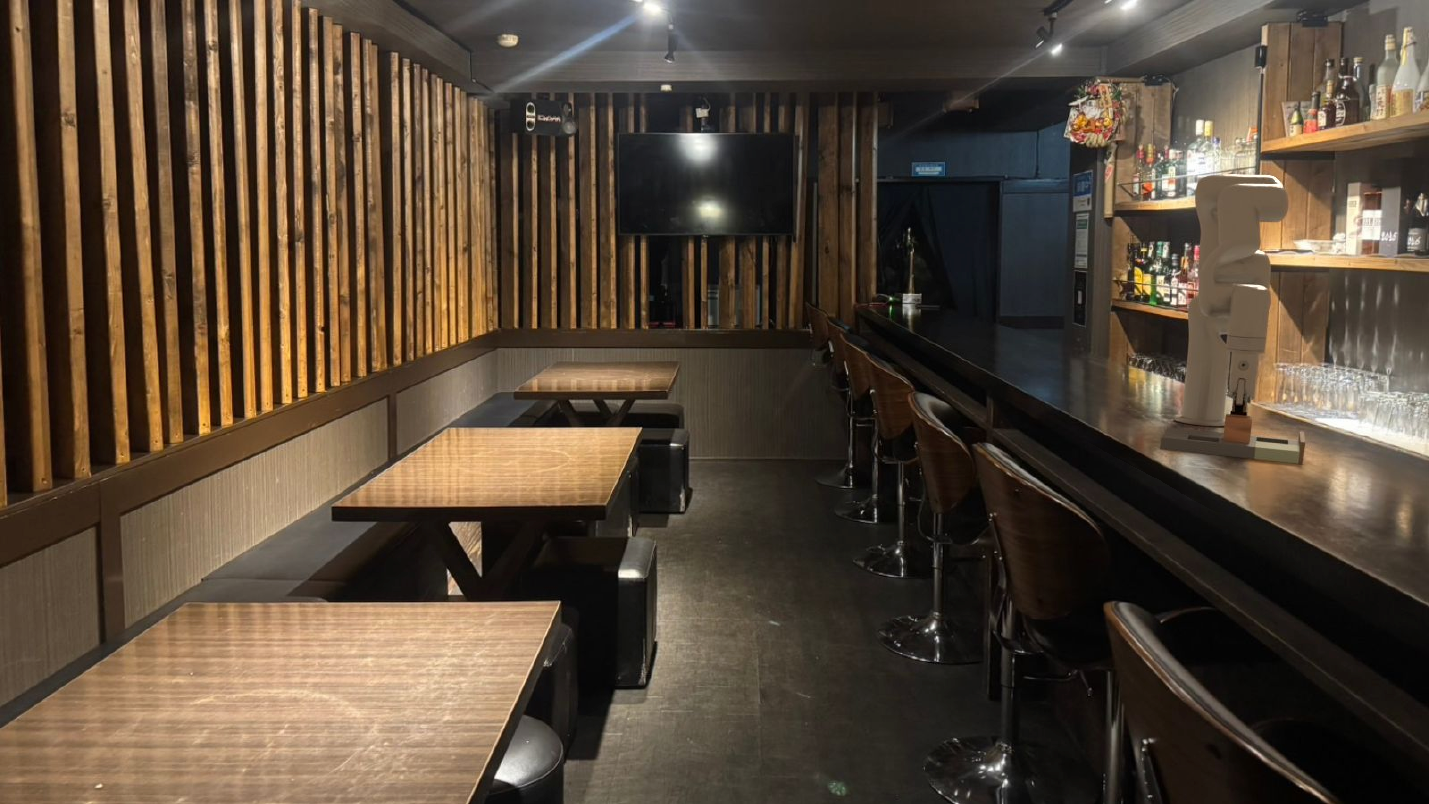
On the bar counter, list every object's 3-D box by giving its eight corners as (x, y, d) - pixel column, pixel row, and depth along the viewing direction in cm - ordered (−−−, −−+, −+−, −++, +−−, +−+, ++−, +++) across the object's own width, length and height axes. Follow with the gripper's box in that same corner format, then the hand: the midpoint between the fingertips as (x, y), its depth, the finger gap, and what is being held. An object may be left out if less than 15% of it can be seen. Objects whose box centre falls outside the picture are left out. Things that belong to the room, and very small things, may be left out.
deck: (1166, 438, 248) (1168, 418, 247) (1301, 452, 236) (1303, 431, 235) (1159, 448, 234) (1161, 427, 234) (1302, 464, 223) (1305, 442, 222)
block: (1224, 437, 237) (1226, 414, 236) (1250, 439, 235) (1252, 416, 234) (1223, 440, 233) (1225, 417, 232) (1249, 443, 230) (1252, 419, 230)
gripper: (1265, 349, 227) (1255, 437, 230) (1265, 343, 240) (1256, 427, 243) (1225, 346, 230) (1216, 433, 233) (1227, 341, 243) (1219, 423, 246)
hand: (1236, 430), depth 238 cm, fingers closed
